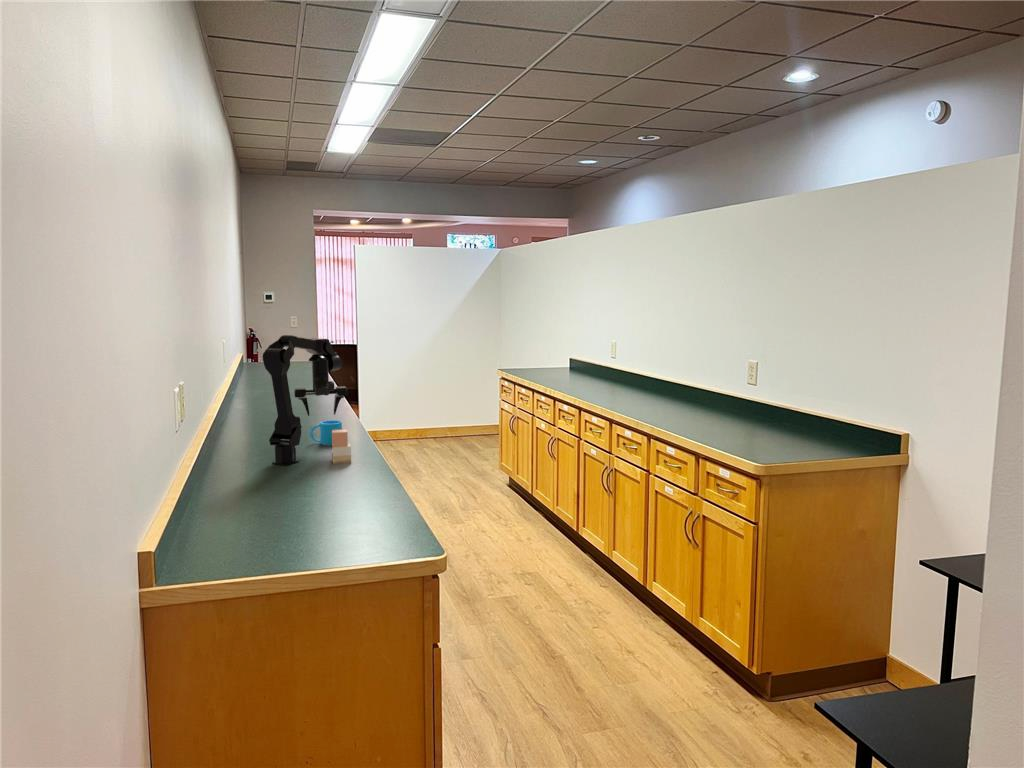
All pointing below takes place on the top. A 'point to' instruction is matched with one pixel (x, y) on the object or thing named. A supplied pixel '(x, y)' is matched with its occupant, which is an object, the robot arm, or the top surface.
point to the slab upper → (341, 450)
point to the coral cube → (339, 438)
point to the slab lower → (341, 459)
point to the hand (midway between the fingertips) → (321, 415)
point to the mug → (326, 431)
